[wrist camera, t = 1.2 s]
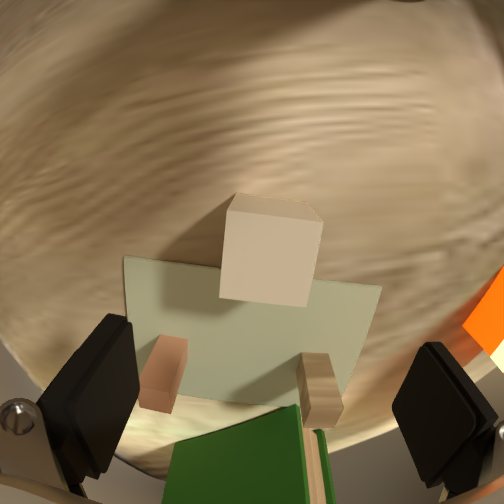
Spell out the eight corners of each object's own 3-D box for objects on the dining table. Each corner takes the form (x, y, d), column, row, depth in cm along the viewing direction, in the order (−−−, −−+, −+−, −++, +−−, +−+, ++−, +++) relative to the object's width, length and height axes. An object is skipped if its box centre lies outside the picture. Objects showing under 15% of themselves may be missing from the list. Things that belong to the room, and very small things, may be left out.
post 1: (160, 334, 26) (135, 385, 19) (187, 338, 26) (168, 392, 19) (161, 355, 27) (139, 407, 20) (187, 360, 27) (170, 414, 20)
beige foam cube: (236, 192, 22) (226, 210, 16) (305, 201, 22) (323, 222, 16) (229, 258, 24) (219, 297, 17) (294, 266, 24) (306, 307, 18)
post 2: (301, 351, 26) (311, 408, 19) (328, 353, 26) (343, 407, 19) (295, 372, 27) (303, 427, 20) (321, 373, 27) (334, 427, 20)
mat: (125, 255, 24) (123, 256, 23) (380, 285, 24) (382, 287, 24) (137, 382, 29) (136, 385, 28) (336, 405, 29) (336, 407, 29)
